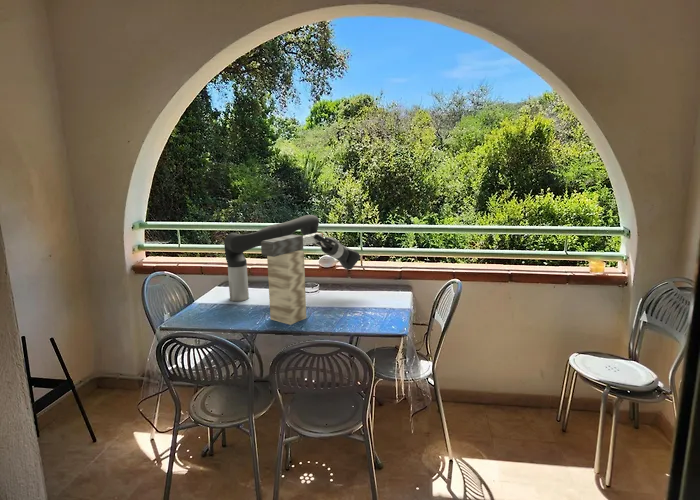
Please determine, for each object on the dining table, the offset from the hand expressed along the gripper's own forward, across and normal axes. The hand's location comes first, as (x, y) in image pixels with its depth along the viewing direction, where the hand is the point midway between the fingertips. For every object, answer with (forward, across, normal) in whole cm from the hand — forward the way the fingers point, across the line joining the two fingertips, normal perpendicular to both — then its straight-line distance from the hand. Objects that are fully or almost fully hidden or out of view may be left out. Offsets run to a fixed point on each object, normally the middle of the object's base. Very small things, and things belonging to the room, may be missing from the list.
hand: (311, 235), depth 205 cm
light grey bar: (+4, 0, +6) cm, 7 cm away
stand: (-1, 0, +39) cm, 39 cm away
